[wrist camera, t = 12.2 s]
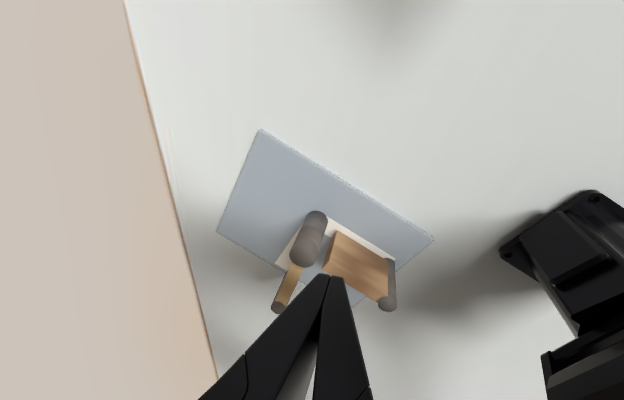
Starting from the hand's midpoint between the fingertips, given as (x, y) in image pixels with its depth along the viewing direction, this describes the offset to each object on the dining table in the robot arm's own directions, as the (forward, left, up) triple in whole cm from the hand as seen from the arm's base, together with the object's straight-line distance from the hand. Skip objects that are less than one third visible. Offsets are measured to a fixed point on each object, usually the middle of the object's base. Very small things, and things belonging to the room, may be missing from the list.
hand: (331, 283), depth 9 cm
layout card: (0, +8, -11) cm, 13 cm away
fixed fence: (-3, +6, -11) cm, 13 cm away
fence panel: (-1, +10, -10) cm, 15 cm away
